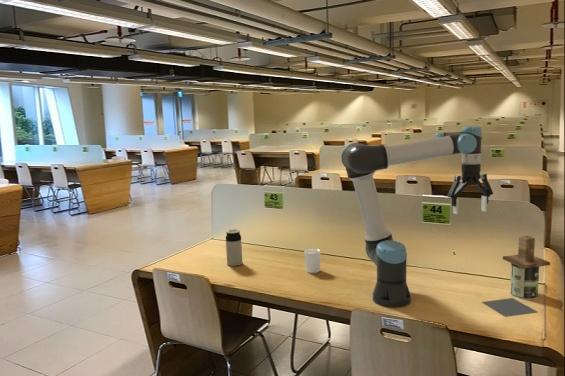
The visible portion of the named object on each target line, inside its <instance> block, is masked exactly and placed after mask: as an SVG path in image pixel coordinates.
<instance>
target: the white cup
mask: <svg viewBox="0 0 565 376" xmlns="http://www.w3.org/2000/svg"><path fill="white" fill-rule="evenodd" d="M303 251H304V254H303V255H304V264H305V271H306V273H308V274H316V273H319V272H320V267H321V250H320V249H316V248H310V249H309V248H308V249H305V250H303Z"/></svg>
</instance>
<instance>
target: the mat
mask: <svg viewBox="0 0 565 376" xmlns="http://www.w3.org/2000/svg"><path fill="white" fill-rule="evenodd" d="M481 303H482V304H484V306H487V308H488V307H489V308H490V309H492V310H493V311H495V312H496V313H498V314H500V315H501V316H503V317H505V318H507V317H513V316H514V317H515V316H523V315H527V314H536V313H538V311H537V310H535V309H534V308H531V307H530V306H528V305H527V304H525V303H522V302H520V301H519V300H517V299H515V298H514V297H511V298H510V297H508V298H502V299H494V300H487V301H481Z"/></svg>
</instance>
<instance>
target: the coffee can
mask: <svg viewBox="0 0 565 376" xmlns="http://www.w3.org/2000/svg"><path fill="white" fill-rule="evenodd" d="M510 264H511V266H510V283H509V285H510V289H509V294H510V295H511V296H512V297H513V298H517V299H521V300H527V301H528V300H536V299H537V298H538V297H539V279H540V278H539V277H540V266H539V267H530V268H521V267H519V266H517V265H515V264H512V263H510Z"/></svg>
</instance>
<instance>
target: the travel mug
mask: <svg viewBox="0 0 565 376" xmlns="http://www.w3.org/2000/svg"><path fill="white" fill-rule="evenodd" d="M225 233H226V236H225V247H226V249H225V250H226V265H227V266H230V267H237V265H239V266H241V265H243V246H242V235H241V234H240V233H241V230H240V229H239V228H232V229H226V230H225Z"/></svg>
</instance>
